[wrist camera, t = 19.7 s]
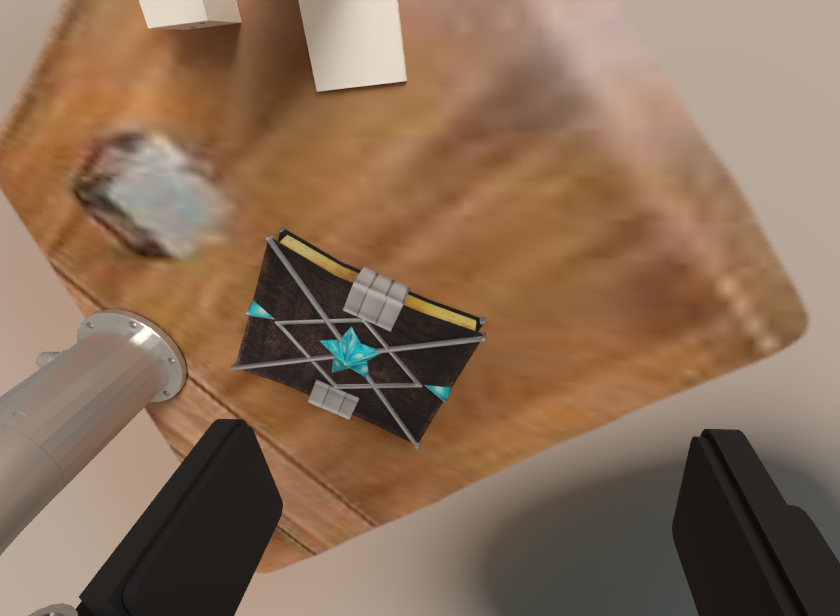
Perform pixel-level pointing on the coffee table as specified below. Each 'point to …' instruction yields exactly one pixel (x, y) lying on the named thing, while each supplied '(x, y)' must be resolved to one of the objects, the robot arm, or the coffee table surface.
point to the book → (354, 339)
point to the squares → (353, 42)
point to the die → (189, 13)
